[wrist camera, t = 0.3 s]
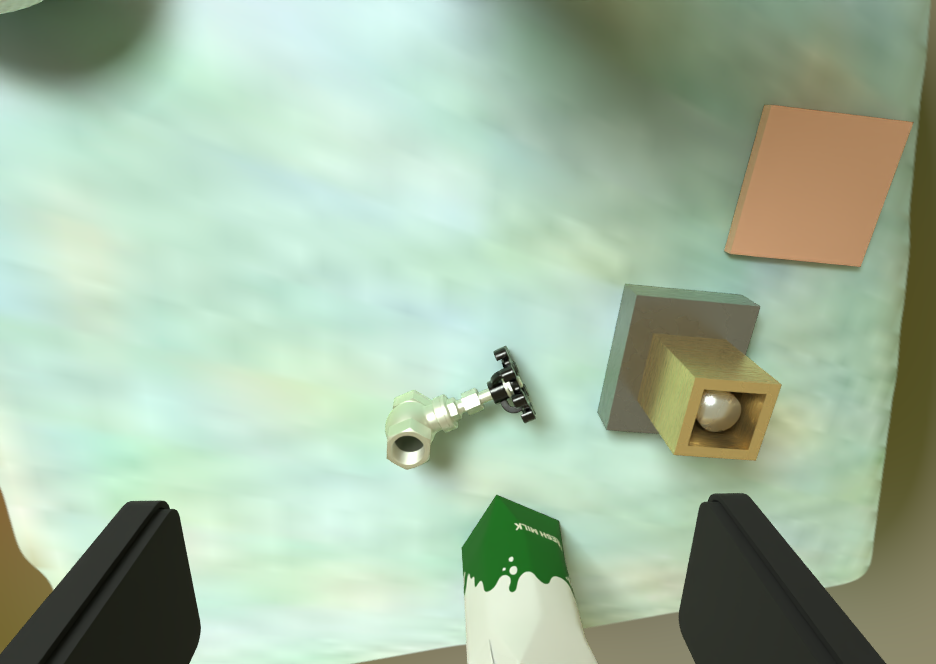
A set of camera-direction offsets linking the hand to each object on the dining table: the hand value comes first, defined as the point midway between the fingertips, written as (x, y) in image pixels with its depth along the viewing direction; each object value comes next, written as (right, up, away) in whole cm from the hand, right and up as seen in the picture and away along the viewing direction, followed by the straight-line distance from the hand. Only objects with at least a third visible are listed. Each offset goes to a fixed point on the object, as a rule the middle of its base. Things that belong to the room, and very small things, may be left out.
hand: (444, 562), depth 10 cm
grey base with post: (+18, +2, +39) cm, 43 cm away
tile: (+27, +15, +34) cm, 46 cm away
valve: (-1, -1, +39) cm, 39 cm away
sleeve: (+18, +1, +36) cm, 40 cm away
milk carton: (+5, -15, +45) cm, 48 cm away
